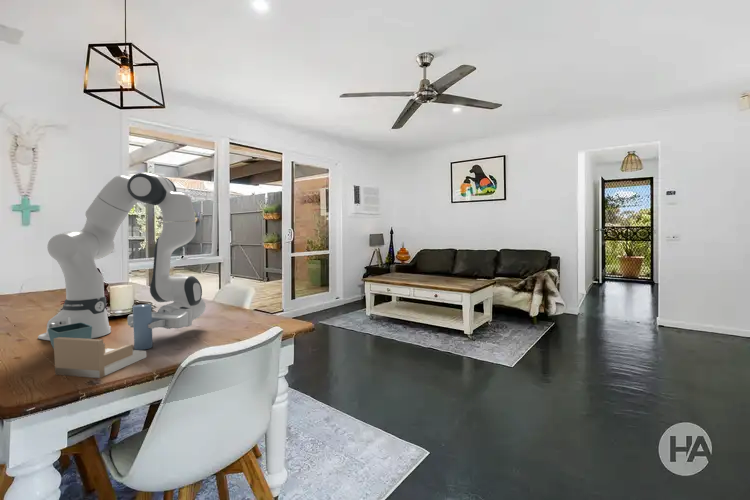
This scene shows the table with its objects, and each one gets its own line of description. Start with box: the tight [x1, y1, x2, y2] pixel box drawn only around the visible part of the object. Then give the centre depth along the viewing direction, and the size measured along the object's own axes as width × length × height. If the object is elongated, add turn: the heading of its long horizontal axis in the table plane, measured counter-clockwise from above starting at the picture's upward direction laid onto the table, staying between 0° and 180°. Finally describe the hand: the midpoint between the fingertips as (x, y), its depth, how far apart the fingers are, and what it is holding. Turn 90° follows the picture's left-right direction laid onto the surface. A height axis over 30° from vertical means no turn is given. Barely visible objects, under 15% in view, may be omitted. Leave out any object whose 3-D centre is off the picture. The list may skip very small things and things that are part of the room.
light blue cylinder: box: [132, 303, 154, 351], centre depth 120 cm, size 5×5×14 cm
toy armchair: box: [53, 337, 147, 379], centre depth 105 cm, size 14×16×10 cm
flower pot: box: [48, 322, 92, 349], centre depth 114 cm, size 9×9×9 cm
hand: (140, 325), depth 119 cm, fingers closed on light blue cylinder, 5 cm apart
